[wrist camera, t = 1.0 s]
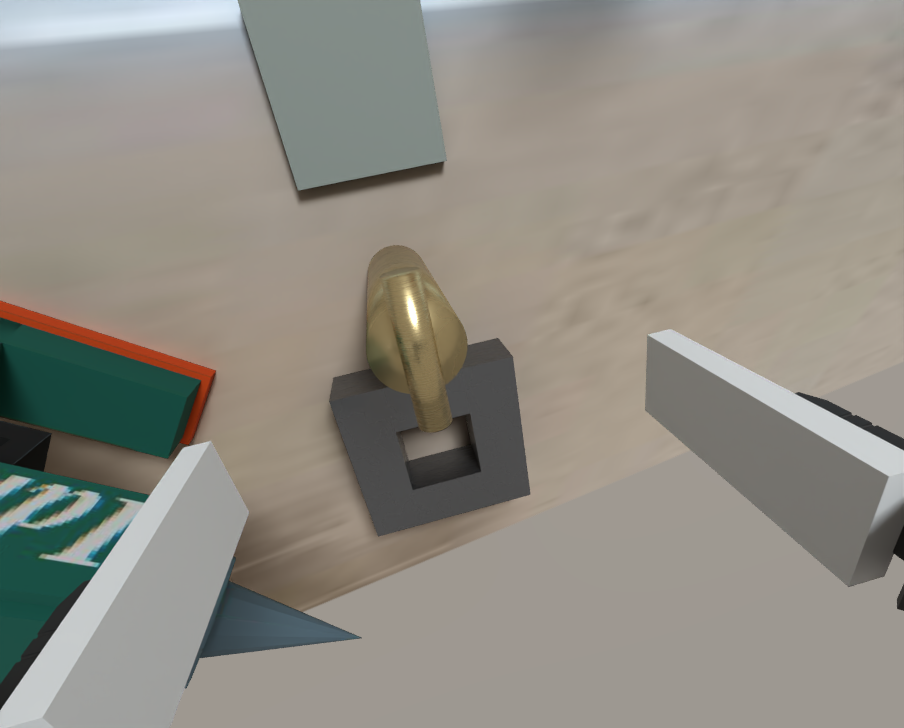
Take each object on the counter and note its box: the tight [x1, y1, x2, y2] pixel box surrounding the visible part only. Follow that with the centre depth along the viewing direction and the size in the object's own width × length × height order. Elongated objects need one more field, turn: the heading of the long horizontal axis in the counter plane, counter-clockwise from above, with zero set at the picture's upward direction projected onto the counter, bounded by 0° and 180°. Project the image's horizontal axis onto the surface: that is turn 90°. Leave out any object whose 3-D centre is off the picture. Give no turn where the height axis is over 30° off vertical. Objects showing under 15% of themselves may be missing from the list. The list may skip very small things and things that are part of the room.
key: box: [366, 245, 467, 432], centre depth 24 cm, size 4×7×16 cm, turn 10°
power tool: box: [0, 301, 361, 688], centre depth 23 cm, size 32×7×20 cm, turn 63°
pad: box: [238, 0, 447, 190], centre depth 26 cm, size 10×10×1 cm
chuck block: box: [329, 338, 530, 536], centre depth 36 cm, size 14×14×4 cm
